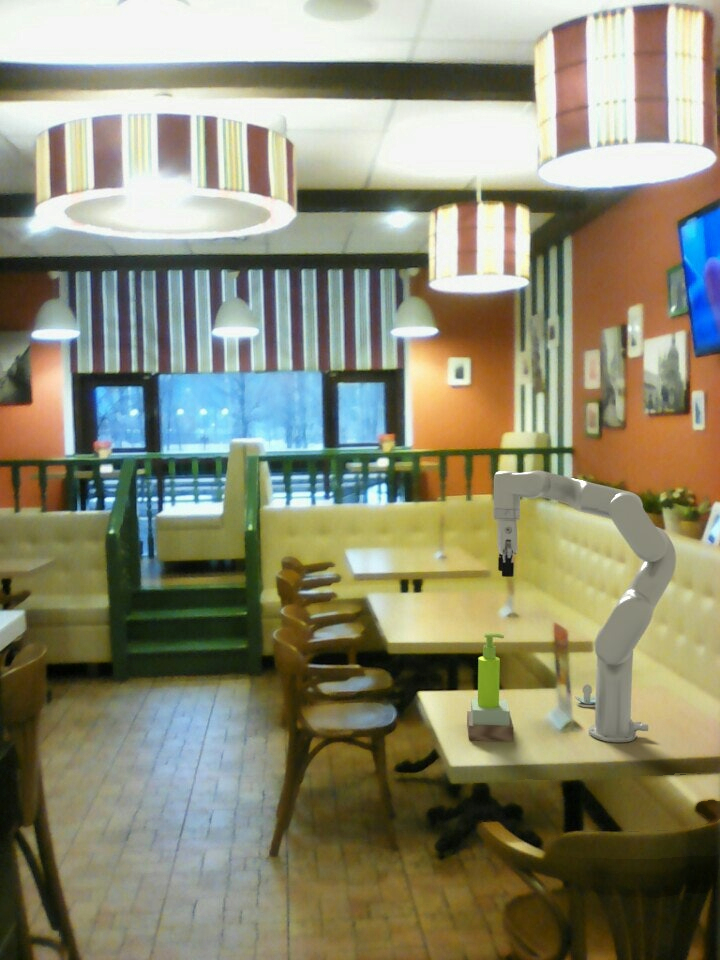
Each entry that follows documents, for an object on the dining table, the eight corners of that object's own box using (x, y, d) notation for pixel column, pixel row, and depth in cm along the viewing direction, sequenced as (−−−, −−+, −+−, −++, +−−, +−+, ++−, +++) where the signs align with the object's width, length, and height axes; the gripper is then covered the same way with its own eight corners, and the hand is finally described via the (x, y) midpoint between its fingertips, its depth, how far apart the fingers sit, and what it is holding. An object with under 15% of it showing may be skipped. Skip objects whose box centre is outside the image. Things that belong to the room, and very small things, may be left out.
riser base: (509, 726, 249) (509, 712, 249) (513, 741, 237) (513, 727, 237) (467, 724, 250) (467, 711, 250) (468, 739, 238) (469, 725, 238)
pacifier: (602, 709, 266) (596, 702, 272) (603, 689, 266) (597, 682, 272) (578, 709, 266) (573, 702, 272) (579, 689, 265) (573, 682, 271)
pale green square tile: (506, 713, 248) (506, 699, 248) (509, 725, 238) (509, 711, 238) (471, 712, 249) (471, 698, 249) (472, 724, 239) (472, 710, 239)
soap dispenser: (502, 709, 240) (504, 637, 239) (477, 707, 241) (478, 636, 240) (502, 702, 246) (504, 632, 244) (477, 700, 247) (479, 631, 245)
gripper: (523, 517, 241) (522, 579, 242) (516, 511, 258) (515, 568, 260) (496, 517, 242) (495, 578, 243) (490, 511, 259) (489, 568, 260)
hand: (505, 573), depth 251 cm, fingers open, 9 cm apart
